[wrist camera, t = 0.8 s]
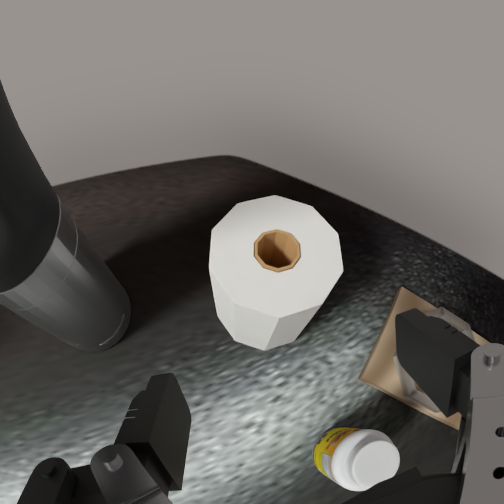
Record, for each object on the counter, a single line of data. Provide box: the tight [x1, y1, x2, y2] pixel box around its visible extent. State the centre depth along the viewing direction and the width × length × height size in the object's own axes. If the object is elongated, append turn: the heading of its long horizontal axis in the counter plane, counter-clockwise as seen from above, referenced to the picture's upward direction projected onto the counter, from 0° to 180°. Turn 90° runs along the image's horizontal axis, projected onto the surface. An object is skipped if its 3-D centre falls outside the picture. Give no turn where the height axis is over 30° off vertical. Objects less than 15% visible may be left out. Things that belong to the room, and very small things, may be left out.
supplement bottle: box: [312, 427, 400, 491], centre depth 22 cm, size 6×6×10 cm
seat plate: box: [358, 287, 490, 430], centre depth 30 cm, size 16×12×2 cm
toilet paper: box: [209, 195, 343, 351], centre depth 29 cm, size 10×10×12 cm
